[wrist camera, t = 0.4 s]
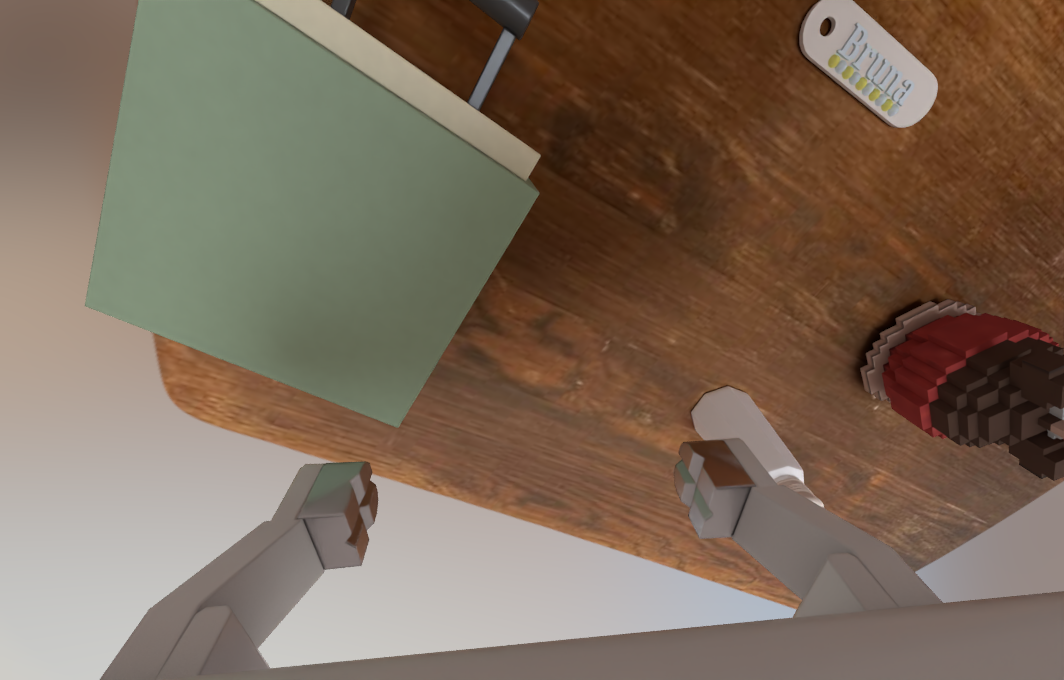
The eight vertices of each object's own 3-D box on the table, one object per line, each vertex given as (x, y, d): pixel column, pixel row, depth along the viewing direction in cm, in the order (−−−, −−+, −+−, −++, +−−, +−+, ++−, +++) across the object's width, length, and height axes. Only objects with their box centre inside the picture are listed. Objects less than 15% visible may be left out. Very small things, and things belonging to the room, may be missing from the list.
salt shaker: (709, 443, 37) (785, 554, 28) (678, 411, 35) (748, 520, 26) (760, 409, 36) (859, 514, 26) (731, 374, 34) (827, 473, 24)
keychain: (795, 41, 22) (835, -21, 21) (788, 43, 23) (827, -18, 22) (912, 136, 25) (953, 87, 24) (903, 136, 26) (942, 87, 25)
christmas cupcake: (845, 329, 33) (1180, 520, 17) (965, 269, 31) (1460, 417, 15) (865, 414, 37) (1141, 626, 22) (970, 366, 36) (1351, 556, 20)
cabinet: (293, 14, 20) (149, -68, 12) (523, 169, 25) (540, 193, 16) (222, 244, 25) (83, 306, 17) (424, 340, 30) (397, 428, 21)
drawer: (341, -125, 18) (245, -286, 11) (573, 64, 22) (611, 35, 15) (234, 219, 24) (129, 258, 17) (430, 316, 28) (409, 380, 21)
